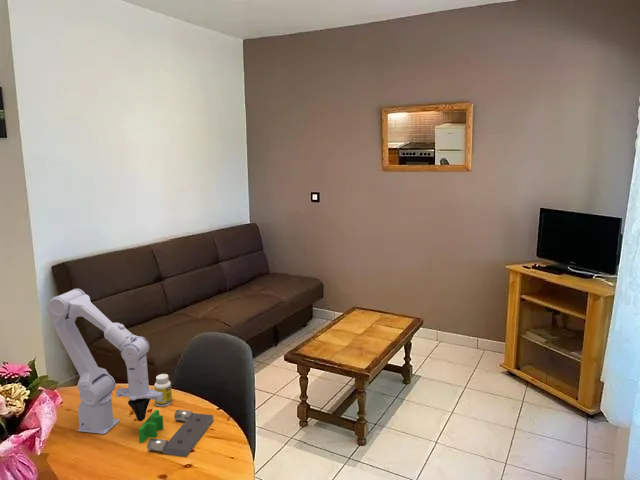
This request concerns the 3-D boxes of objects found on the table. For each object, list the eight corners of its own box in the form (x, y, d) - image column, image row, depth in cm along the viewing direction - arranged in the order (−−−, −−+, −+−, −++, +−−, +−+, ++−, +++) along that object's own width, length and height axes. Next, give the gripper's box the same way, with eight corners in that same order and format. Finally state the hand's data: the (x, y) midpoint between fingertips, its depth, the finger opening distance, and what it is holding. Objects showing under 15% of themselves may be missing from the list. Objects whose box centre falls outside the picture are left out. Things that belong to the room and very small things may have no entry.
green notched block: (151, 444, 145) (150, 430, 144) (139, 443, 146) (138, 429, 145) (167, 423, 156) (166, 410, 155) (156, 422, 157) (155, 409, 156)
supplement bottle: (169, 407, 166) (167, 380, 164) (153, 407, 166) (151, 380, 164) (174, 399, 171) (172, 372, 169) (158, 399, 171) (156, 372, 169)
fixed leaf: (147, 452, 141) (146, 442, 140) (179, 416, 160) (178, 407, 159) (185, 457, 139) (185, 446, 138) (213, 420, 157) (213, 411, 157)
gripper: (108, 382, 146) (112, 424, 149) (153, 386, 143) (156, 428, 146) (122, 371, 153) (125, 412, 155) (165, 375, 150) (168, 416, 153)
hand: (141, 419), depth 151 cm, fingers closed
